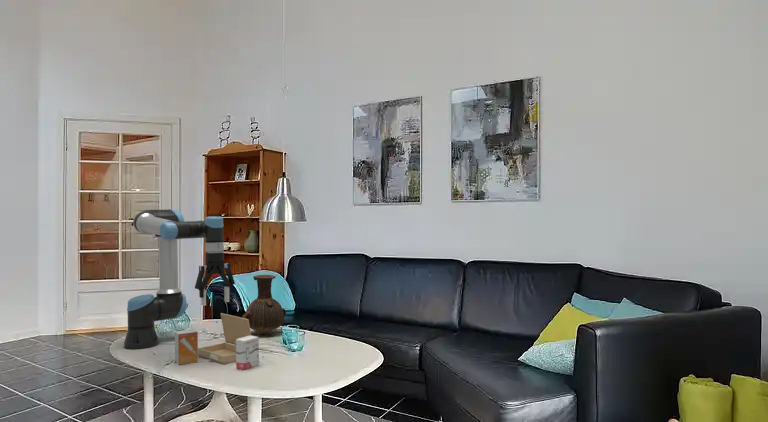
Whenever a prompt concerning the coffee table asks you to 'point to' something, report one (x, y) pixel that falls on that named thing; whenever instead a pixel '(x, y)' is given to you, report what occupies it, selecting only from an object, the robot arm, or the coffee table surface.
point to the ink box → (247, 352)
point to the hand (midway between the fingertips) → (215, 303)
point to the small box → (186, 346)
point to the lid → (235, 328)
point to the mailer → (219, 353)
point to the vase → (264, 308)
